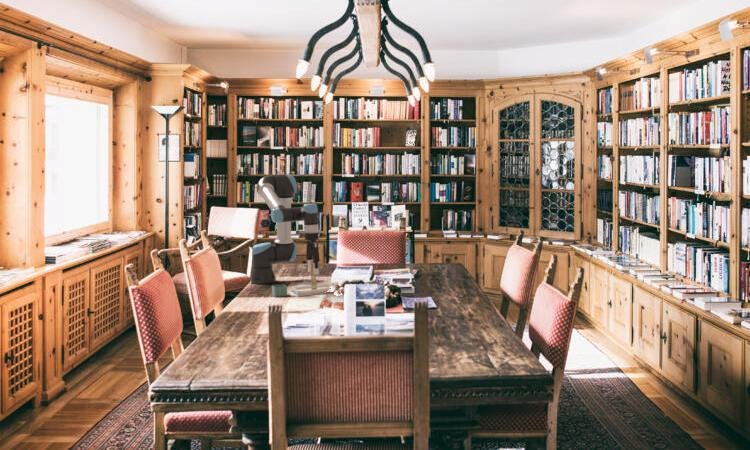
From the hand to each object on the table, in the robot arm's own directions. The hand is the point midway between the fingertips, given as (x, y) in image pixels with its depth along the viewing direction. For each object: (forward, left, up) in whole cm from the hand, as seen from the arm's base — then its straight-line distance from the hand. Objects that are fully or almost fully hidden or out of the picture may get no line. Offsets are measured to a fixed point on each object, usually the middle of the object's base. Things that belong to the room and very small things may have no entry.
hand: (313, 273), depth 373 cm
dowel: (0, 0, -9) cm, 9 cm away
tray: (0, 0, -10) cm, 10 cm away
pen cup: (-1, -19, -10) cm, 22 cm away
